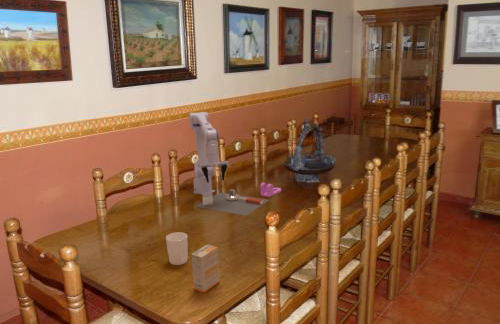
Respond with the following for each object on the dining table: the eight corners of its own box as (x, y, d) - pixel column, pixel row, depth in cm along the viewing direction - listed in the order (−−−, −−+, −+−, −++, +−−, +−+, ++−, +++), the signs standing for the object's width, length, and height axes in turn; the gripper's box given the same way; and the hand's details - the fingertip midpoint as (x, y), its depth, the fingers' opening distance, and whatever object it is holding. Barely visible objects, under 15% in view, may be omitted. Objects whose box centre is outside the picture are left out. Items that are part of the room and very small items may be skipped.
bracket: (269, 197, 235) (268, 185, 233) (260, 195, 239) (260, 183, 237) (283, 191, 245) (283, 179, 243) (274, 189, 248) (274, 177, 247)
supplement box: (209, 278, 155) (207, 243, 152) (220, 282, 153) (218, 247, 149) (193, 289, 149) (190, 253, 146) (204, 293, 146) (201, 256, 143)
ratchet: (223, 200, 232) (222, 191, 231) (230, 196, 238) (229, 187, 237) (258, 206, 222) (258, 196, 221) (265, 201, 228) (265, 192, 227)
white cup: (168, 257, 172) (166, 232, 170) (189, 255, 173) (187, 231, 170) (167, 266, 165) (164, 241, 162) (188, 265, 165) (186, 240, 163)
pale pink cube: (203, 206, 224) (202, 197, 223) (203, 203, 229) (202, 193, 228) (213, 205, 225) (212, 196, 223) (213, 202, 230) (212, 193, 228)
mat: (194, 206, 225) (194, 206, 225) (220, 192, 245) (220, 192, 245) (245, 216, 211) (245, 215, 211) (269, 200, 231) (269, 199, 231)
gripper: (199, 156, 215) (202, 184, 216) (228, 152, 219) (231, 180, 220) (197, 155, 222) (200, 182, 223) (225, 152, 226) (228, 178, 227)
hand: (215, 181), depth 222 cm, fingers open, 7 cm apart
